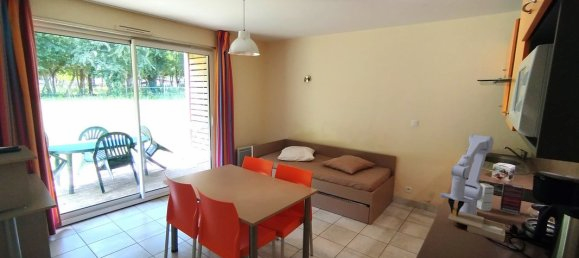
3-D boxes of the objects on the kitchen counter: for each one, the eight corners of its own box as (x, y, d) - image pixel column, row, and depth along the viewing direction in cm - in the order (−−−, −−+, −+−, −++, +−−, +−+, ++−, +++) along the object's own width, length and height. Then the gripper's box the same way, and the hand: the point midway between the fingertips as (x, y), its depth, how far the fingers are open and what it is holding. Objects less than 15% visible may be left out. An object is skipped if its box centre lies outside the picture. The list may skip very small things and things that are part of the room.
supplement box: (518, 212, 151) (523, 185, 148) (519, 215, 147) (524, 188, 144) (499, 208, 156) (503, 182, 153) (499, 211, 152) (503, 184, 149)
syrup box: (491, 211, 151) (495, 186, 149) (481, 210, 151) (485, 186, 149) (483, 206, 157) (487, 183, 155) (473, 206, 157) (477, 183, 154)
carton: (470, 220, 139) (470, 215, 138) (504, 230, 130) (505, 224, 130) (466, 231, 128) (467, 225, 128) (503, 242, 119) (504, 236, 119)
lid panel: (452, 210, 144) (452, 203, 143) (483, 218, 135) (484, 211, 134) (447, 219, 133) (448, 212, 132) (481, 229, 124) (482, 222, 124)
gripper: (440, 187, 136) (437, 211, 138) (474, 194, 127) (470, 221, 129) (442, 183, 142) (439, 207, 144) (475, 190, 133) (472, 216, 135)
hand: (454, 213), depth 137 cm, fingers closed on lid panel, 2 cm apart
